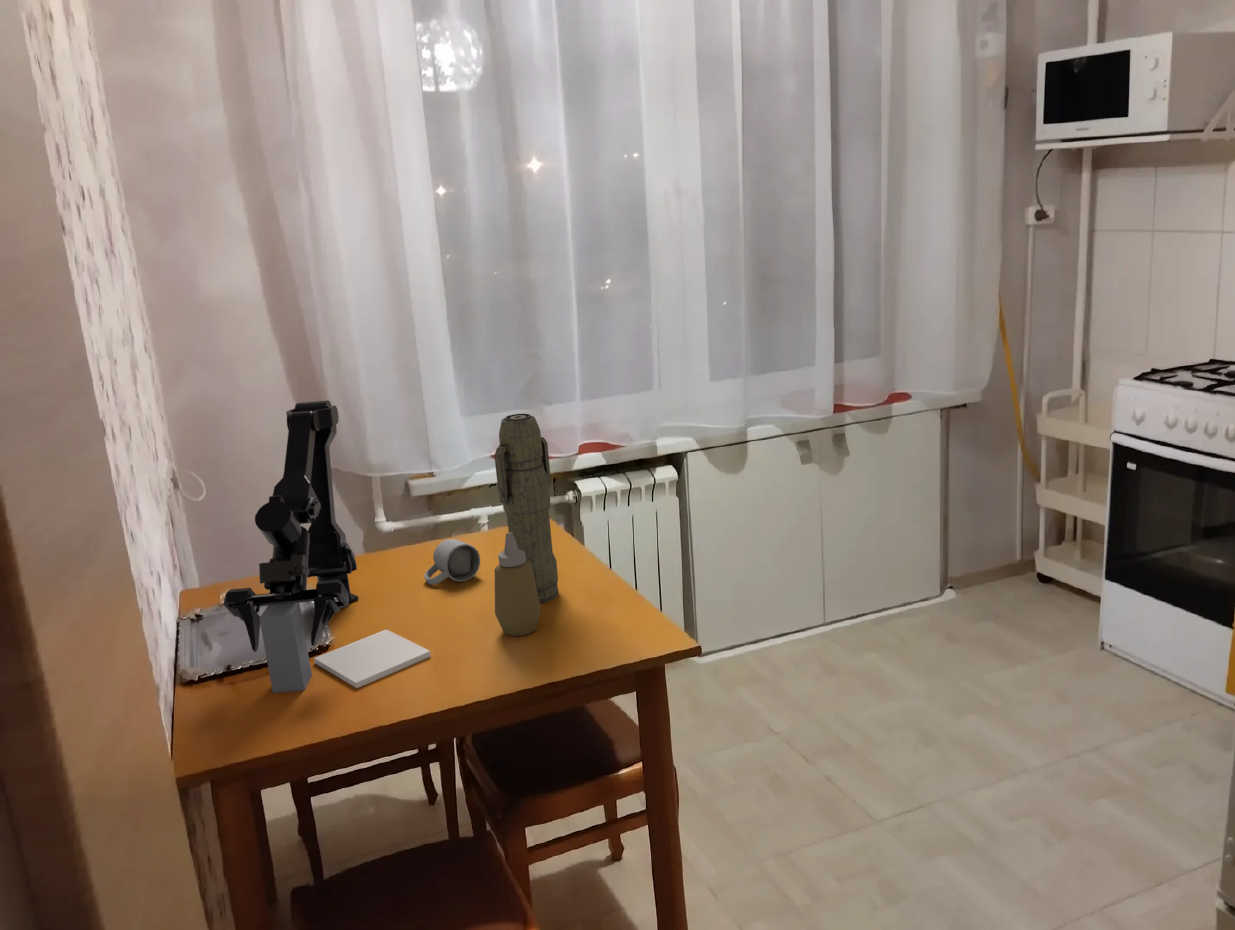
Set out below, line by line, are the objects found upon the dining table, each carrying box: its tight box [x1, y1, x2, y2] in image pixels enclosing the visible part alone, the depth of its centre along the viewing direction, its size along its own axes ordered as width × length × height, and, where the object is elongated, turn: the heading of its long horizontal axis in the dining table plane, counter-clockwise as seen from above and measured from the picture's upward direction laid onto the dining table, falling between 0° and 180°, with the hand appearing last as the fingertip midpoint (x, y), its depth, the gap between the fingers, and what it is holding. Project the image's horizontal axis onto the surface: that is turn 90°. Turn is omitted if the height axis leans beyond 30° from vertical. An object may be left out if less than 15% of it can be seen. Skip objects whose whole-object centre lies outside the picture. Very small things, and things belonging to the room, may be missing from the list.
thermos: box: [494, 413, 559, 604], centre depth 183 cm, size 9×12×35 cm
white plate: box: [313, 629, 432, 689], centre depth 166 cm, size 14×14×1 cm
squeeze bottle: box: [494, 532, 542, 637], centre depth 171 cm, size 8×8×18 cm
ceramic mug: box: [424, 538, 481, 586], centre depth 199 cm, size 11×8×8 cm
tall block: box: [259, 602, 313, 694], centre depth 158 cm, size 5×5×13 cm
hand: (283, 648), depth 156 cm, fingers open, 9 cm apart
